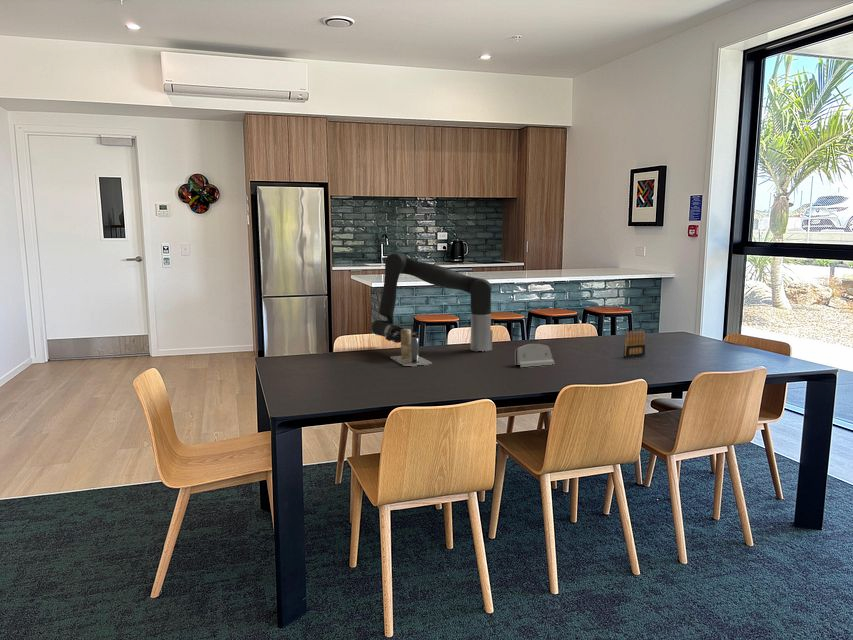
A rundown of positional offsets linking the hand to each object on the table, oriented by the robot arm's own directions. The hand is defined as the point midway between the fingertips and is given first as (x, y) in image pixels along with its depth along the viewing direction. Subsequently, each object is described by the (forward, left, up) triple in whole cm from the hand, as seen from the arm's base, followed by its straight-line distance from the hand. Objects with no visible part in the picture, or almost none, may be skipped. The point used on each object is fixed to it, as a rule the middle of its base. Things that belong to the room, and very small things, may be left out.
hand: (407, 338), depth 268 cm
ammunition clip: (-97, +30, -10) cm, 102 cm away
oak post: (0, -2, -8) cm, 9 cm away
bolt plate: (0, +3, -10) cm, 10 cm away
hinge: (-45, +28, -10) cm, 54 cm away
